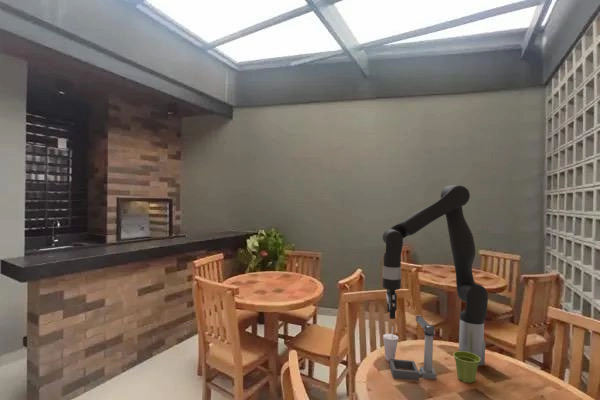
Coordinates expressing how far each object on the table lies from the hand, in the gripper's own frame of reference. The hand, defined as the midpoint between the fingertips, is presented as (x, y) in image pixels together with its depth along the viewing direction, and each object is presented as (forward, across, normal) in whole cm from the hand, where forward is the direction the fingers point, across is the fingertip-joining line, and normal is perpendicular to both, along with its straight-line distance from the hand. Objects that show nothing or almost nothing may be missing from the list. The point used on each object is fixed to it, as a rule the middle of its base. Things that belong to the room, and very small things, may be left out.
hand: (391, 315), depth 147 cm
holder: (+19, -11, -7) cm, 23 cm away
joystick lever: (+3, -5, -12) cm, 14 cm away
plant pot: (+19, -11, -27) cm, 35 cm away
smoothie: (+19, 0, 0) cm, 19 cm away
